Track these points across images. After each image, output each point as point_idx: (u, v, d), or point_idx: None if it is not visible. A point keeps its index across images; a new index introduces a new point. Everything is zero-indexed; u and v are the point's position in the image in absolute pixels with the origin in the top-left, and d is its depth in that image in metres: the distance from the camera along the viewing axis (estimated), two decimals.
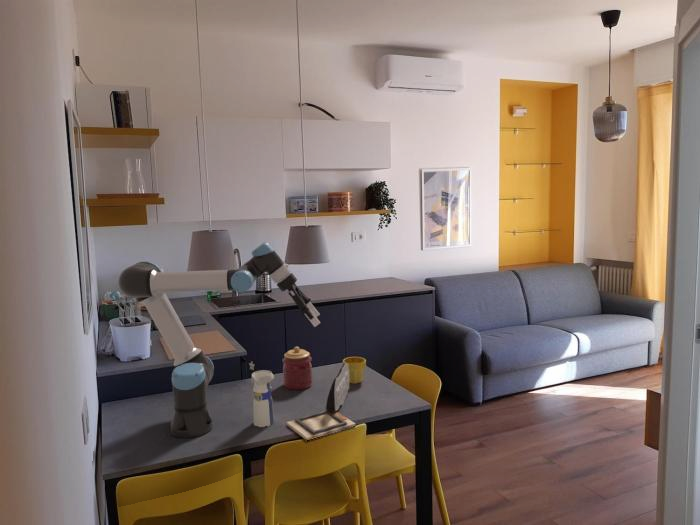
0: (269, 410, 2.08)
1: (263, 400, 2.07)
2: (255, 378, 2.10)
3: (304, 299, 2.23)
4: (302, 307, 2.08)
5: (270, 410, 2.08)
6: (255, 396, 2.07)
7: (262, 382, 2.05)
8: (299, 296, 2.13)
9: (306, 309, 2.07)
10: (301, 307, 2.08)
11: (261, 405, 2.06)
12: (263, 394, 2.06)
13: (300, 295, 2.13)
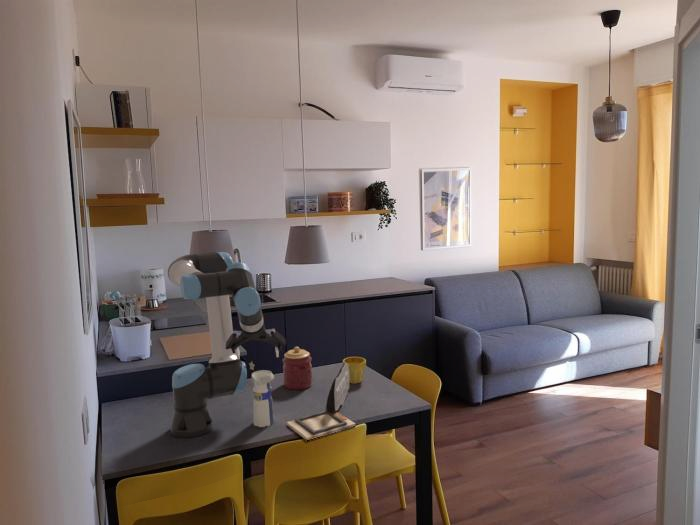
0: (269, 410, 2.08)
1: (263, 400, 2.07)
2: (255, 378, 2.10)
3: None
4: (227, 343, 1.89)
5: (270, 410, 2.08)
6: (255, 396, 2.07)
7: (262, 382, 2.05)
8: (242, 340, 1.86)
9: (225, 347, 1.89)
10: (227, 342, 1.89)
11: (261, 405, 2.06)
12: (263, 394, 2.06)
13: (242, 341, 1.86)
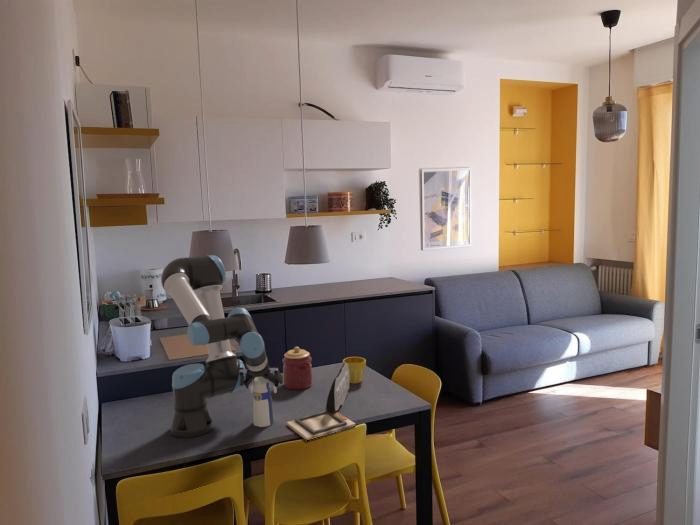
0: (269, 410, 2.08)
1: (263, 400, 2.07)
2: None
3: None
4: None
5: (270, 410, 2.08)
6: (255, 396, 2.07)
7: (261, 382, 2.05)
8: (250, 377, 2.01)
9: (240, 384, 2.06)
10: (240, 379, 2.05)
11: (261, 405, 2.06)
12: (263, 394, 2.06)
13: (250, 378, 2.01)
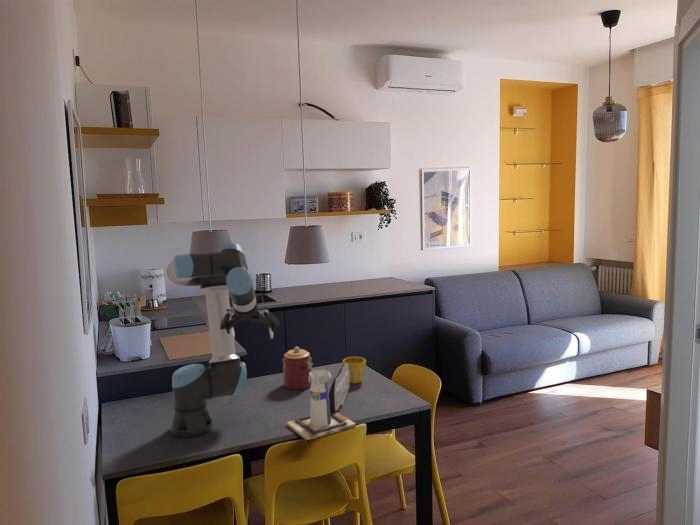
0: (327, 410, 2.04)
1: (321, 399, 2.02)
2: (312, 377, 2.06)
3: None
4: (221, 323, 1.91)
5: (328, 410, 2.04)
6: (313, 396, 2.02)
7: (320, 381, 2.01)
8: (235, 320, 1.88)
9: (219, 327, 1.92)
10: (221, 322, 1.91)
11: (319, 405, 2.02)
12: (321, 394, 2.02)
13: (235, 321, 1.88)
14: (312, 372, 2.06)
